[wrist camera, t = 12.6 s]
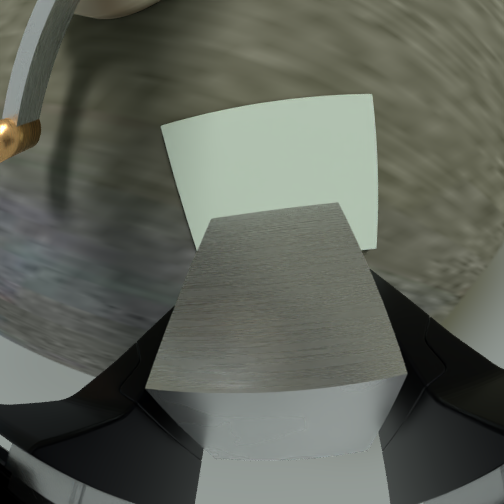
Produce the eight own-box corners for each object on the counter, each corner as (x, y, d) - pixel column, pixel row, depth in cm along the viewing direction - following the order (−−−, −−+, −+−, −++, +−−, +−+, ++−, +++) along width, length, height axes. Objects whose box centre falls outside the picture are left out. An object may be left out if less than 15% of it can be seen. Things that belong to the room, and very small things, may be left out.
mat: (368, 94, 13) (371, 94, 13) (373, 243, 18) (376, 248, 18) (164, 124, 15) (160, 126, 15) (204, 263, 20) (202, 268, 20)
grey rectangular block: (338, 202, 8) (407, 373, 3) (339, 299, 10) (367, 450, 5) (211, 218, 9) (145, 388, 4) (237, 309, 11) (214, 458, 6)
